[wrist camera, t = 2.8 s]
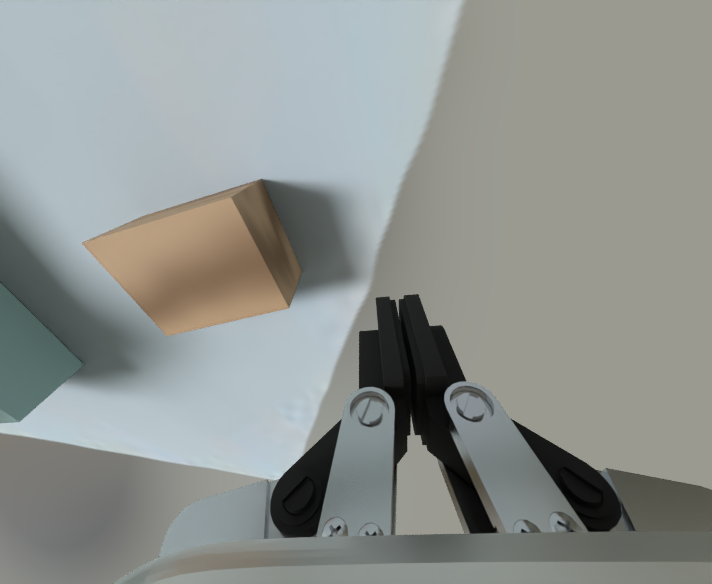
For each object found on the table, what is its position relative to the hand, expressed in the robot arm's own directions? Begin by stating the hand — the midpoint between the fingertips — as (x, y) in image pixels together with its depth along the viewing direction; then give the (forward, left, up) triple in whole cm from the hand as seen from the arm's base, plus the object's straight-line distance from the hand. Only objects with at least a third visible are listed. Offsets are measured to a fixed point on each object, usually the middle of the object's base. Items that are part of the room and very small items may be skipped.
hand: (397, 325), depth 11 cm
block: (-1, -11, -10) cm, 15 cm away
